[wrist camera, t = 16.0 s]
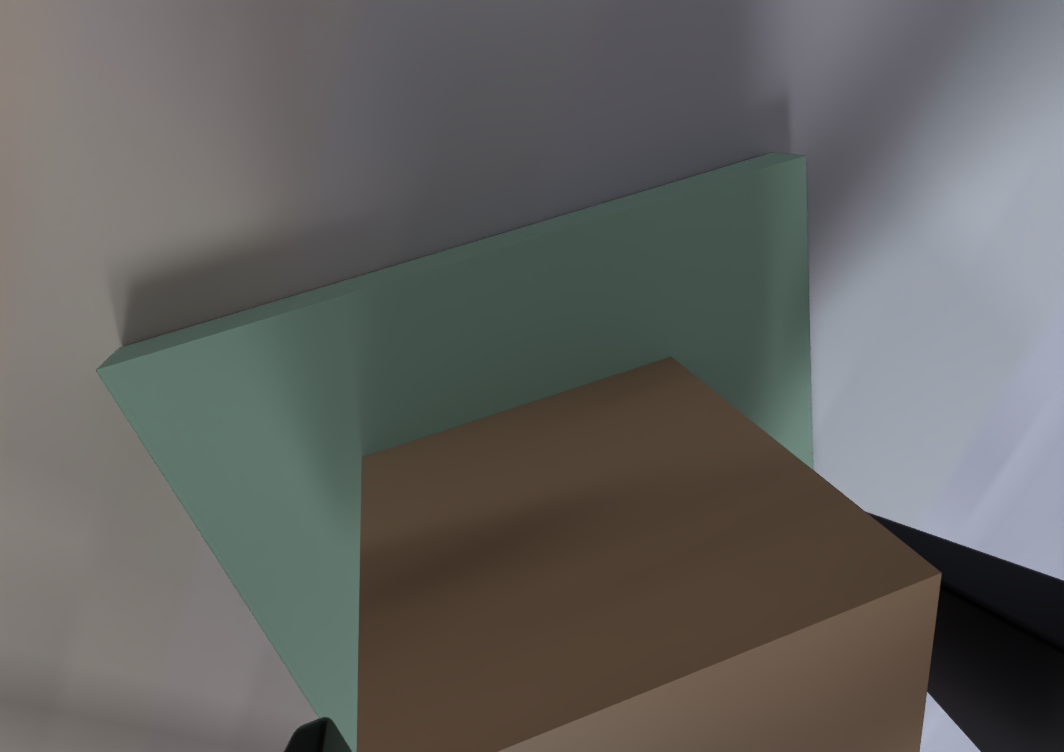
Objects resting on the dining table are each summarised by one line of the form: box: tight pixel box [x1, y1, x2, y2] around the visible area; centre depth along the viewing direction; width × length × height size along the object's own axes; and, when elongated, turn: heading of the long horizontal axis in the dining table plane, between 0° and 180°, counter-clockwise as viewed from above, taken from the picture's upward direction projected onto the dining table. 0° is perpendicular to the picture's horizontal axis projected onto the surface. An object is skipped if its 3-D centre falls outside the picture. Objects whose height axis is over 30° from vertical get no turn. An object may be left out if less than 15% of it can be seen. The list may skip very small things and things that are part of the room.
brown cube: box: [357, 357, 942, 752], centre depth 8 cm, size 5×5×5 cm
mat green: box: [96, 152, 813, 752], centre depth 11 cm, size 10×10×1 cm
